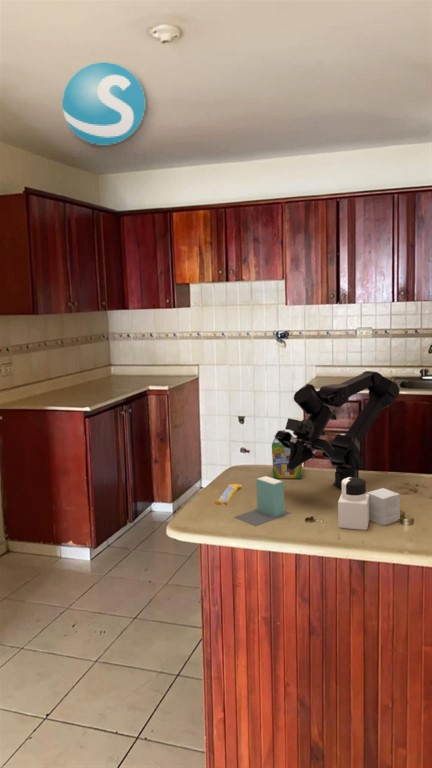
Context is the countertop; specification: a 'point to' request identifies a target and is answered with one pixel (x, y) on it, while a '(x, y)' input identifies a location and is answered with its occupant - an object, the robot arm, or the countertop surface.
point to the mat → (258, 517)
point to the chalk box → (283, 462)
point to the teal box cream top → (270, 496)
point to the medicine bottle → (353, 504)
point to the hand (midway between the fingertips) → (289, 469)
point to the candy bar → (228, 493)
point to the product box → (384, 506)
